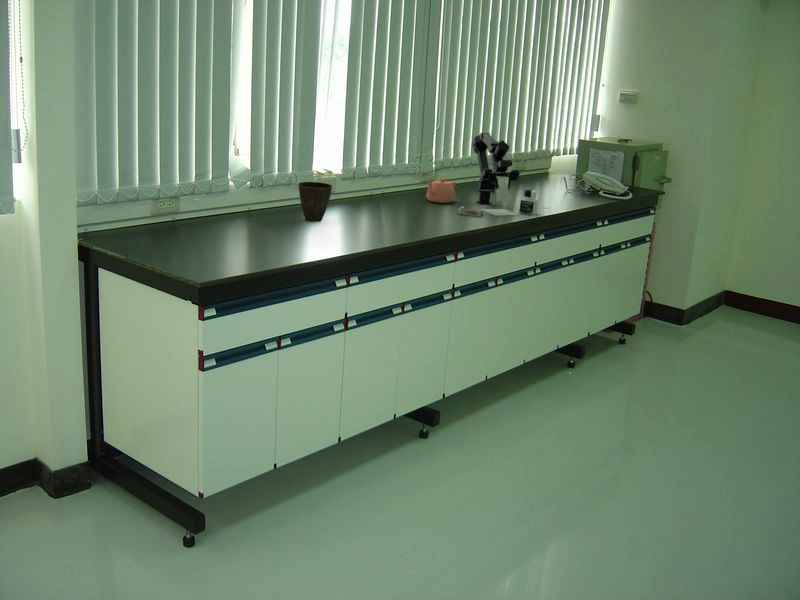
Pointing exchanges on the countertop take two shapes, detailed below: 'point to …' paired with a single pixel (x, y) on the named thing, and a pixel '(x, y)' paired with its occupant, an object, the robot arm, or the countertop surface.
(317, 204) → the plant pot
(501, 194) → the pale grey rounded piece
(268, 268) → the countertop surface
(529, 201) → the medicine bottle
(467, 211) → the holder
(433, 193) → the teapot
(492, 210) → the mat
